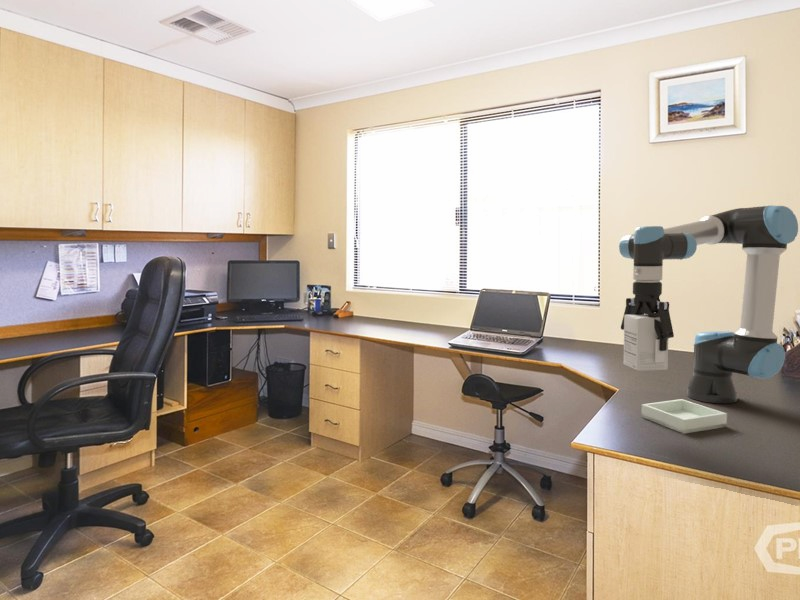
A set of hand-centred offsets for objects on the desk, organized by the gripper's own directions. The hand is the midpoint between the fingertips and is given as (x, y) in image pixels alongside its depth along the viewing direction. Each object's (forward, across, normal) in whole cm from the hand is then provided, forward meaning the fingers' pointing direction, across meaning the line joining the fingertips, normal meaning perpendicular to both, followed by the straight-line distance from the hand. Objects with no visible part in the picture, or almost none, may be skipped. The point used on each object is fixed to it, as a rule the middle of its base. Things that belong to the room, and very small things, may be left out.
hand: (645, 358), depth 153 cm
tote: (+21, 0, +15) cm, 25 cm away
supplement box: (+3, 0, 0) cm, 3 cm away
